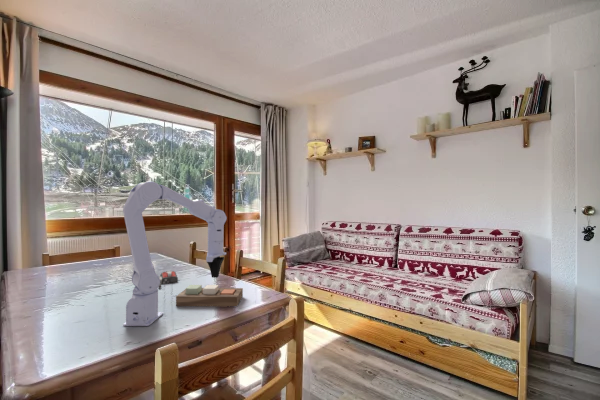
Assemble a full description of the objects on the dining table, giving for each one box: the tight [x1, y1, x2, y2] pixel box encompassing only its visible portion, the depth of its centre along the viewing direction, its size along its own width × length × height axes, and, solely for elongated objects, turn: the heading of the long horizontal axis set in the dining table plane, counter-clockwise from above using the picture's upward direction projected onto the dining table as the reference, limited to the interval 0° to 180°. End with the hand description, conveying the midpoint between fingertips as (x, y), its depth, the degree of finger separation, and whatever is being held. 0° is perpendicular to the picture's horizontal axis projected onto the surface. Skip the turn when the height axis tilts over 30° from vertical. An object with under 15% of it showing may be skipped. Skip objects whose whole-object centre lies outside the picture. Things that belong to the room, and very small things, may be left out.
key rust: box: [221, 289, 235, 295], centre depth 108 cm, size 4×4×2 cm
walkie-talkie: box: [158, 270, 179, 288], centre depth 132 cm, size 9×4×20 cm
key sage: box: [185, 284, 203, 294], centre depth 108 cm, size 4×4×2 cm
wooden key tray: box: [175, 287, 244, 308], centre depth 108 cm, size 10×22×4 cm, turn 90°
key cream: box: [202, 284, 219, 295], centre depth 108 cm, size 4×4×2 cm
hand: (215, 277), depth 107 cm, fingers closed
